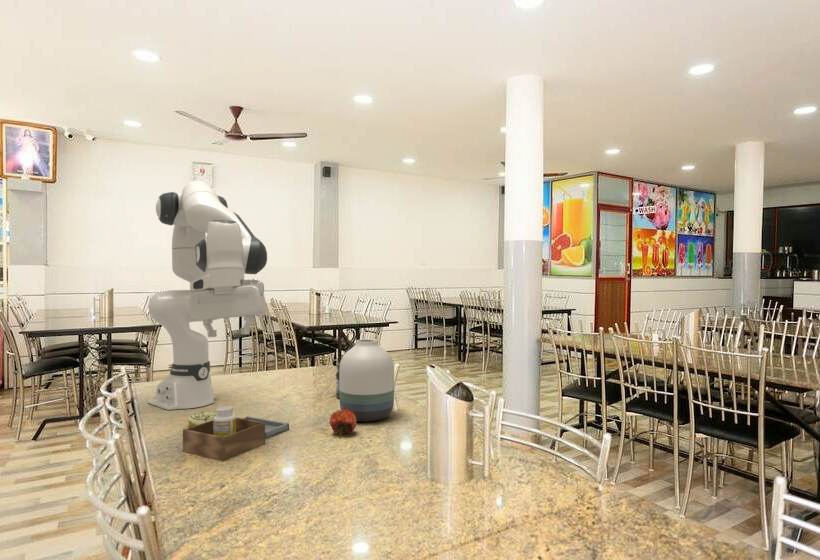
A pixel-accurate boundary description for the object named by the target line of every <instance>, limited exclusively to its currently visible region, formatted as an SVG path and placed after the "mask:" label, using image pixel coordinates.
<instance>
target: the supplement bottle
mask: <svg viewBox="0 0 820 560" xmlns="http://www.w3.org/2000/svg"><path fill="white" fill-rule="evenodd" d="M215 411H216V416H214V418H213V435H215V436H220V437H225V436H228V435H231V434H233V433H236V418H237V415H236V414H235V413H234V408H233V406H229V405H227V406H225V405H224V406H219V407H217V408H216V410H215Z"/></svg>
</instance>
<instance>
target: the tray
mask: <svg viewBox="0 0 820 560" xmlns="http://www.w3.org/2000/svg"><path fill="white" fill-rule="evenodd" d="M242 419H247V420H253V421H258V422H264V423H265V439H266V440H268V439H271V438H272V437H275V436H278V435H280V434H283V433H285V432H288V431H290V423H287V422H283V421H277V420H271V419H265V418H259V417H256V416H255V417H253V416H245V417H242ZM287 430H288V431H287ZM282 432H283V433H282ZM270 437H271V438H270Z"/></svg>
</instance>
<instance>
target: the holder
mask: <svg viewBox="0 0 820 560" xmlns="http://www.w3.org/2000/svg"><path fill="white" fill-rule="evenodd" d="M242 418H243V417H242ZM242 418H241V417H236V433H233V434H231V435H228V436H225V437H220V436H215V435H213V420H211V421H208V422H205V423H202V424H199V425H196V426H193V427H190V426H189V427H188V428H187V427H186V428H184V429H182V452H183V451H184V452H185V453H188V454H193V455H196V456H200V455H201V456H200V457H205V458H209V459H213V460H217V461H222V462H224V461H227V460H229V459H231V458H233V457H236V456H238V455H241V454H244V453H246V452H249V451H251V450H253V449H255V448H258V447H260V446H263V445H265V444H266V440H265V423H264V422H258V421H253V420H247V419H242ZM184 452H183V453H184Z"/></svg>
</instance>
